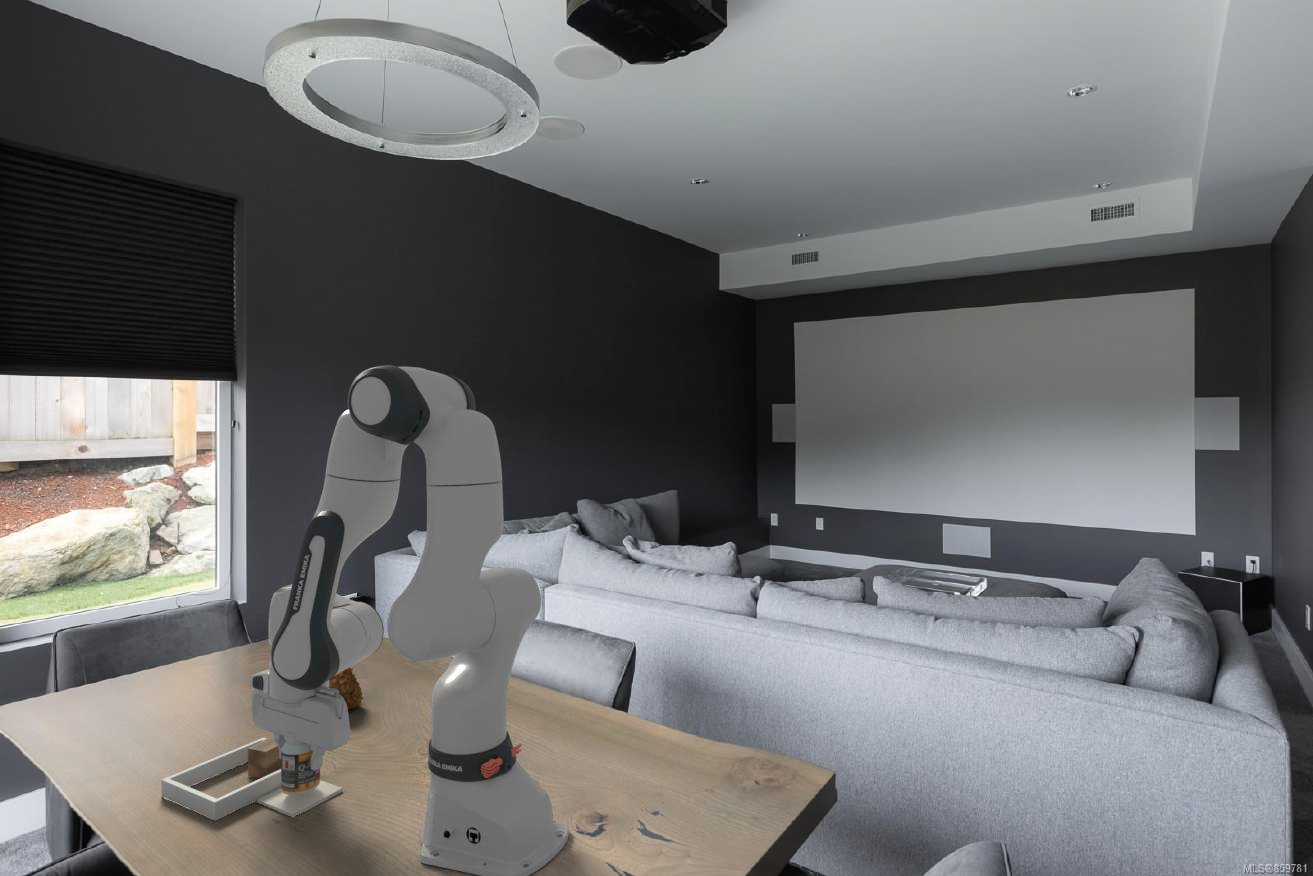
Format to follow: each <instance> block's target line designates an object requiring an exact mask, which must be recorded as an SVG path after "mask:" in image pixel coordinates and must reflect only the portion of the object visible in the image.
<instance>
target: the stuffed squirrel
mask: <svg viewBox="0 0 1313 876" xmlns="http://www.w3.org/2000/svg"><path fill="white" fill-rule="evenodd" d="M357 679H358V678H357V677H356V674H355V673H353V668H351V667H350V668H348V669H346V670H344V671H342V672H340V673H338V674H336V675H335V676H334V677H332V678H331V679H329V687H328V688H334V689H336V690H338V691H339V694H340V695H341V696H342V697H343V698H344V700H345V702H346V705H347V709H348V711H349V710H353V709H355V708H357V707H358V706H360V705H361V703H362V700H364V699H365V698H364V697H363V692H362V687H361V686H360V682H359V681H357Z"/></svg>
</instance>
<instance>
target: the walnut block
mask: <svg viewBox="0 0 1313 876" xmlns="http://www.w3.org/2000/svg"><path fill="white" fill-rule="evenodd" d="M280 769H281V759H280V758H279V749H278V746H277V744H276V742H275V739H271V738H270V739H269V738H267V739H265V740H263V741H261V742H260V743H258V744H256V745H254V746H252V747H250V748H248V763H247V777H248V776H251V777H250V778H252V777H254V778H253V779H257V778H263V777H265V776H267V775H269V774H271V773H273V772H275V771H278V770H280Z"/></svg>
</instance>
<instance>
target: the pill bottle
mask: <svg viewBox="0 0 1313 876" xmlns="http://www.w3.org/2000/svg"><path fill="white" fill-rule="evenodd" d="M285 740H286V742H285V743H284V745H283V746H282V749H281V786H282V792H283V793H284V794H286V795H291V796H296V795H302V794H306V793H309V792H311V791H313V790H314V789H316V788H317V787H318V785H319V783H320V780H321V768H319V769H317V770H311V769H309V768H307V765H308V764H307V759H308V758H310V757H311V756H312V753H313V751H312V750H311V745H310V744H306V743H303V742H300V741H298V740H297V738H296V735H295V734H292V733H289V732H286V731H285Z"/></svg>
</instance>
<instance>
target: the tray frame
mask: <svg viewBox="0 0 1313 876" xmlns="http://www.w3.org/2000/svg"><path fill="white" fill-rule="evenodd" d="M265 739H268V738H266V737H261V738H259V739H256V740H253V741H252V742H250V743H247V744H244V745H242V746H240V747H237V748H235V749H232V750H230V751H227V752H225V753H223V754H221V755H217V756H216V757H213V758H211V759H209V760H205V761H204V762H201V763H198V764H196V765H194V766H191V767H189V768H187V769H186V768H185V769H184V770H181V771H180V772H177V773H174V774H173V775H170V776H167V777H165V778H162V779H161V798H162V797H166V798H168V799H169V800H172V801H175V802H177V803H179V804H181V805H183V806H185V807H188V808H190V809H191V810H195V811H197V812H199V813H201V814H203V815H206V816H208V817H209V818H211V819H213V820H217V819H219V820H221V819H220V817H223V816H225V815H227V814H229V813H231V812H233V811H234V810H238V809H239V808H242V807H244V806H246V807H248V806H250V805H251V804H250V803H252V802H254V801H256V802H257V799H259V798H261V797H264V796H266V795H268V794H270V793H272V792H274V791H276V790H278V789H280V788H282V786H281V769H280V770H278V771H275V772H273V773H271V774H269V775H267V776H265V777H263V778H260V779H257V780H254V781H252V782H250V783H248V784H246V785H243V786H241V787H240V788H237V789H235V790H233V791H231V792H229V793H226V794H224V795H222V796H220V797H217V798H216V797H215V796H212V795H210V794H207V793H204V792H202V791H200V790H197V789H195V788H193V787H191V788H190V787H189V786H192V785H193V784H195V783H199V782H201V781H203V780H205V779H207V778H211V777H213V776H215V775H217V774H220V773H222V772H225V771H227V770H229V769H232V770H234V769H236V768H237V767H236V766H239V765H241V766H243V765H245V763H246V764H248V763H247V762H248V748H250V747H252V746H254V745H256V744H258V743H260V742H261V741H263V740H265ZM235 767H236V768H235ZM239 767H240V766H239ZM233 768H234V769H233ZM227 772H228V771H227ZM225 773H226V772H225ZM220 775H221V774H220ZM211 779H212V778H211ZM254 803H255V802H254ZM249 804H250V805H249ZM252 804H253V803H252ZM247 805H248V806H247ZM244 808H245V807H244ZM242 809H243V808H242ZM238 811H239V810H238ZM225 817H226V816H225ZM223 818H224V817H223ZM211 819H210V820H211ZM213 820H212V821H213ZM217 821H218V820H217Z"/></svg>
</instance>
